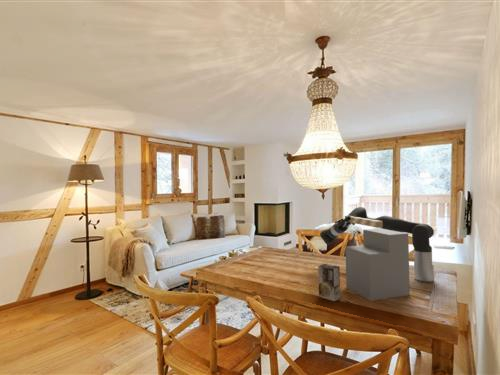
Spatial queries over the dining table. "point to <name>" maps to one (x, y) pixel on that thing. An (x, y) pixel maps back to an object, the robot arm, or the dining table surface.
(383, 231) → the stepped plinth
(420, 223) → the robot arm
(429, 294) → the dining table surface
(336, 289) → the coffee box
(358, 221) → the birch bar
